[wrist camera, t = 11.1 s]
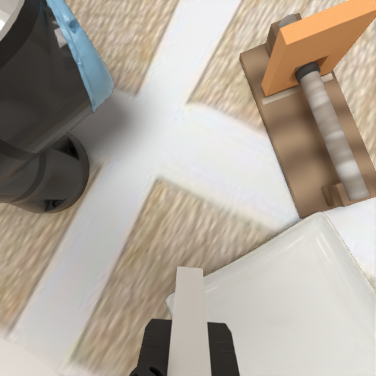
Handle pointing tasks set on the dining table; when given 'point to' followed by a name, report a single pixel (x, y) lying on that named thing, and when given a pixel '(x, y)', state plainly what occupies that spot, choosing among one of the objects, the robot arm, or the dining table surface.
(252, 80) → the pipe stand
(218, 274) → the square plate
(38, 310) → the dining table surface
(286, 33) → the upright orange slab
